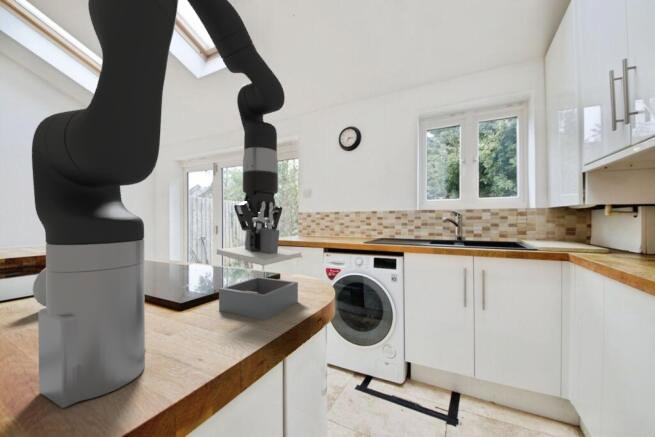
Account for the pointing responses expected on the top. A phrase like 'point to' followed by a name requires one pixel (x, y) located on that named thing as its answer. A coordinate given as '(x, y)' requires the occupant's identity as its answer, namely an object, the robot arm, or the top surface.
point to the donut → (40, 288)
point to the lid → (261, 250)
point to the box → (258, 297)
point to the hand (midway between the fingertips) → (260, 249)
